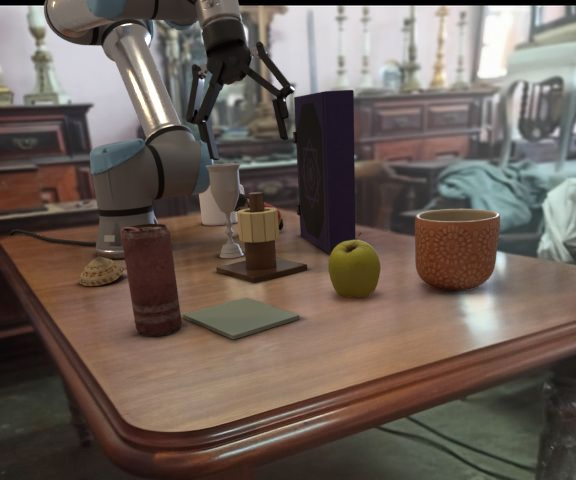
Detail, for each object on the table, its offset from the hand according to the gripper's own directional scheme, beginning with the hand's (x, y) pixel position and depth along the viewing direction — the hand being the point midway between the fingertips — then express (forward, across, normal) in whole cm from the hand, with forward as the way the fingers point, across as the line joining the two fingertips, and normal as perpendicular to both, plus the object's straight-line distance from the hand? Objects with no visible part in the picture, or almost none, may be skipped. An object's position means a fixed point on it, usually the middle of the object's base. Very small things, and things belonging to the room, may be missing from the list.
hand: (249, 149), depth 106 cm
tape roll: (+16, -1, -3) cm, 16 cm away
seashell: (+17, -30, -9) cm, 36 cm away
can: (+27, -8, -33) cm, 44 cm away
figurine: (+13, -13, +33) cm, 38 cm away
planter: (+31, +31, -9) cm, 44 cm away
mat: (+28, +2, -28) cm, 39 cm away
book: (+19, +6, +23) cm, 30 cm away
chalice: (+17, -12, +11) cm, 24 cm away
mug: (+6, -27, +51) cm, 58 cm away
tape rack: (+22, -2, -1) cm, 22 cm away
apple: (+29, +16, -15) cm, 36 cm away
